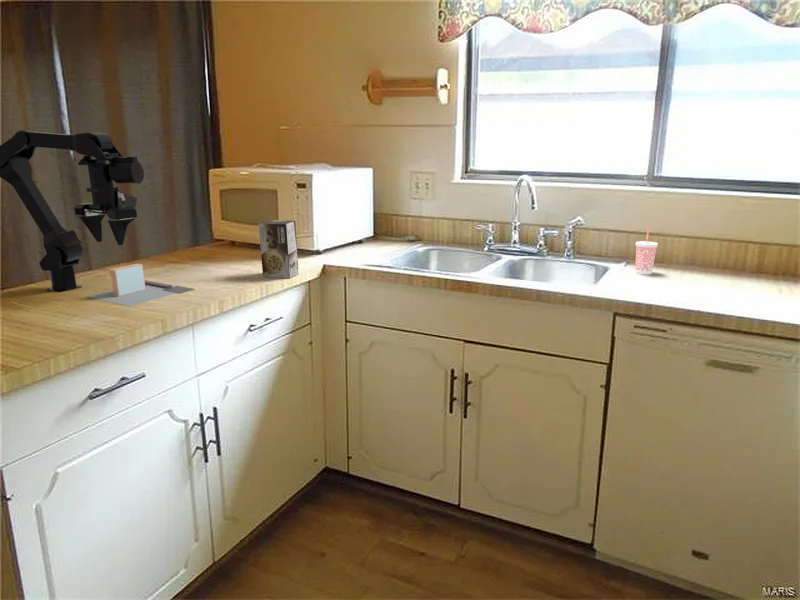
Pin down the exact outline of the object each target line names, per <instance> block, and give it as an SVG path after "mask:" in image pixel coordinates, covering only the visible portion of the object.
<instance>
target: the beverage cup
mask: <svg viewBox="0 0 800 600" xmlns="http://www.w3.org/2000/svg"><path fill="white" fill-rule="evenodd" d="M649 233H650V225H647V230H646V236H645V237H646V240H640V241H636V242H635V268H634V269H635V271H634V272H635V274H639V275H651V274H653V270H654V269H653V268H654V264H655V263H654V262H655V257H656V254H657V253H656V252H657V248H658V246H659V245H658V244H659V243H658V242H656V241H655V242H654V241H649V236H650V235H649Z"/></svg>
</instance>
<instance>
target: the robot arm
mask: <svg viewBox="0 0 800 600" xmlns="http://www.w3.org/2000/svg"><path fill="white" fill-rule="evenodd" d="M36 148H46V149H47V148H48V149H57V150H67V151H68V150H69V151H71V152H74V153H77V154H80V155H83V157H82V158H81V159H80V160H79V161H78V162H77V165H78V166H86V170H87V176H88V183H89V184H88V185H89V187H86V189H85V190H86V192H87V193H90V199H91V202H82V203H76V204H75V206H74V207H73V208H74V214H75V215H76V216H78V219H80V220H81V221H82V223H83V224H84V225H85V227H86V228H87V229H88V230H89V232H90V233H91V235H92V236H93V238H94V239H95V241H96V242H97V243H101V242H102V241H103V229H102V221H103V219H104V217H105V216H106V215H107V217H108V220H107V222H108V225H109V227H110V229H111V231H112V235H113V236H114V239H115V241H116V243H117V245H118V246H123V245H124V243H125V242H124V241H125V237H126V234H127V233H126V232H127V229H128V225H130V223H132V222H133V221H134V220H136V218H138V217H139V214H138V209H137V203H138V197H137V196H133V195H129V194H126V193H124V192H123V191H120V188H119V187H118V186H115V183H116V184H121V185H122V184H123V185H124V184H126V185H128V184H129V185H130V184H137V185H140V184H141V183H142V182H143V181H144V178H145V177H144V176H145V172H144V171H145V170H144V168H143V166H142V163H140V161H139V160H138V157H137V155H134V156H132V155H131V156H130V155H129V156H123V154H122V153H121V152H120V151H119V149H118V148H117V147H116V146H115V144H114V142H113V139H112V138H111V136H110V135H109V134H108V133H106V132H83V133H73V134H66V133H54V132H46V131H45V132H44V131H35V130H31V129H29V130H27V129H26V130H18V131H16V132H15V134H14V135H13V136H12V137H11V138H10V139H8V140H7V141H5V142H3V143H2V144H0V179H2V180H3V181H5V182H6V183H7V184H9V185H11V187H13V190H14V191H15V193H16V194H17V196H18V197H19V199H20V201H21V203H22V204H23V205H24V207H25V208H26V211H27V212H28V213H29V215H30V216H31V218H32V220H33V222H34V223H35V224H36V226H37V228H38V230H39V231H40V233H41V234H42V239H43V240H42V241H43V243H42V244H43V249H44V250H45V254H44V256H43V257H42V259H41V260H40V261H39V263H38V264H39V267H40V268H41V271H45V272H46V271H48V272H49V276H50V282H51V286H50V287H46V291H47V292H48V291H49V292H56V293H64V292H67V291H72V290H77V289H81V288H83V286H82V285H79V284H77V281H76V275H75V270H74V269H75V268H74V266H75V265H78V264H80V258H81V256H82V255H83V251H84V248H83V246H82V244H83V241H81V240H80V239H79V237H78V235H77V233H76V231H75V230H73V229H72V230H71V229H70V230H67V229H65V228H64V227H63V226H62V225H61V223H60V222H59V220H58V218H57V217H56V215H55V214H54V212H53V211H52V209H51V207H50V205H49V204H48V202H47V201H46V199H45V197H44V196H43V194H42V192H41V191H40V189H39V188H38V187H37V185H36V183H35V181H34V180H33V174H32V169H33V167H32V165H31V163H30V160H31V159H32V158H33V157H34V156H35V152H36V150H37V149H36ZM107 161H108V162H107Z"/></svg>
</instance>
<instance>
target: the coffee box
mask: <svg viewBox="0 0 800 600" xmlns="http://www.w3.org/2000/svg"><path fill="white" fill-rule="evenodd" d="M257 224H258V233H259V245H260V246H259V247H260V257H261V270H262V277H263V278H275V279H276V278H277V279H278V278H279V279H282V278H283V279H291V278H294V277H295V276H298V275H299V262H298V261H299V258H298V244H297V243H298V240H297V229H296V227H297V226H296V220H287V219H286V220H285V219H284V220H283V219H282V220H280V219H267V220H264V221H261V222H259V223H257Z"/></svg>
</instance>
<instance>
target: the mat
mask: <svg viewBox="0 0 800 600" xmlns="http://www.w3.org/2000/svg"><path fill="white" fill-rule="evenodd" d="M145 287H146V290H143V291H139V292H135V293H131V294H127V295H124V296H120V297H118V296H114V293H113V289H109V290H104V291H102V292H97V293H94V294H89V295H86V296H85V297H87V298H92V299H95V300H100V301H103V302H108V303H112V304H113V303H114V304H118V305H122V306H126V307H131V306H132V307H133V306H134V305H138V304H142V303H145V302H149V301H153V300H157V299H161V298H165V297H169V296H171V295H172V296H173V295H176V294H177V293H174V292H169V291H164V290H163V289H166V288H161V287H156V286H151V285H146V284H145Z"/></svg>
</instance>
